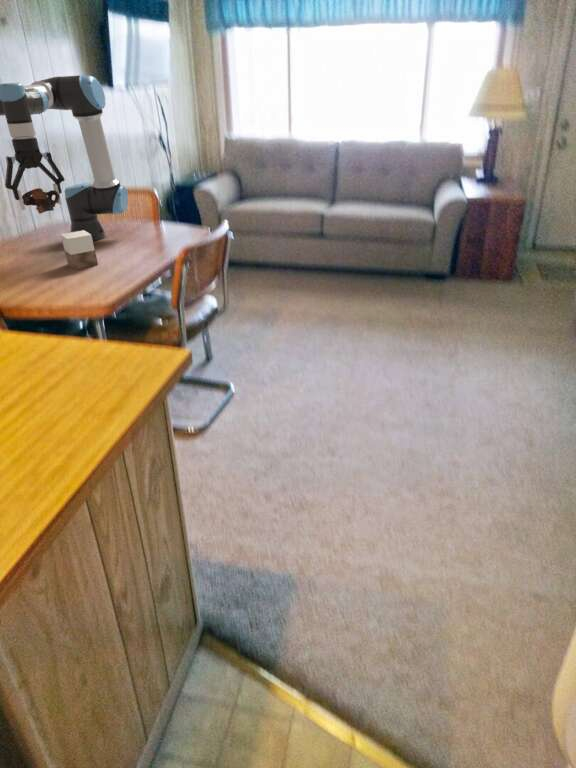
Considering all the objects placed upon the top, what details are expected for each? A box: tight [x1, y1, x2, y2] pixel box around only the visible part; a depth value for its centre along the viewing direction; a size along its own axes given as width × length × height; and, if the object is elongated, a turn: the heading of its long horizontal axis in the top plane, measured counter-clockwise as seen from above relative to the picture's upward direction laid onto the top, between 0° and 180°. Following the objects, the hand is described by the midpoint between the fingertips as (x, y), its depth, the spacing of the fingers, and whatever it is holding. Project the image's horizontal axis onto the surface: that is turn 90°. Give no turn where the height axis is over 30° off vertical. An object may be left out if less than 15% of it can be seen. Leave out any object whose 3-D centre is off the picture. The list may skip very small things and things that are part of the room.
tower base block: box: [64, 249, 99, 271], centre depth 212 cm, size 9×9×6 cm
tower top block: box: [60, 230, 95, 255], centre depth 209 cm, size 9×9×6 cm
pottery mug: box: [22, 187, 61, 215], centre depth 186 cm, size 12×10×8 cm
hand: (41, 206), depth 187 cm, fingers closed on pottery mug, 11 cm apart
